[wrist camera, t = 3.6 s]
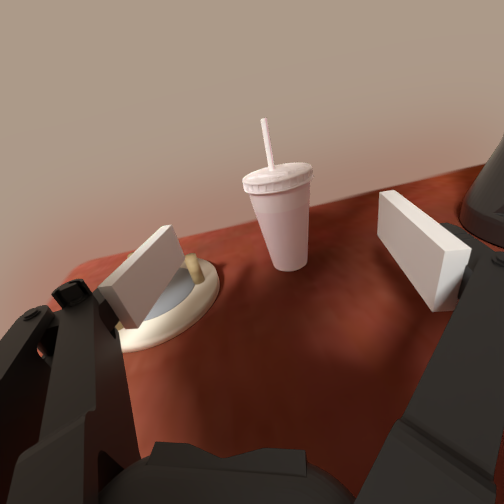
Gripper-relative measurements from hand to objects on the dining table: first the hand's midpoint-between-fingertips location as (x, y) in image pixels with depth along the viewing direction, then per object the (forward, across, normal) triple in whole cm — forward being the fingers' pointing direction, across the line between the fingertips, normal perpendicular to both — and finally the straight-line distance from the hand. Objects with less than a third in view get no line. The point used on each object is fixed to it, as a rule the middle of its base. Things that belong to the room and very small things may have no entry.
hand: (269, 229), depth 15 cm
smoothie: (+8, 0, -8) cm, 12 cm away
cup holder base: (+4, -13, -8) cm, 16 cm away
